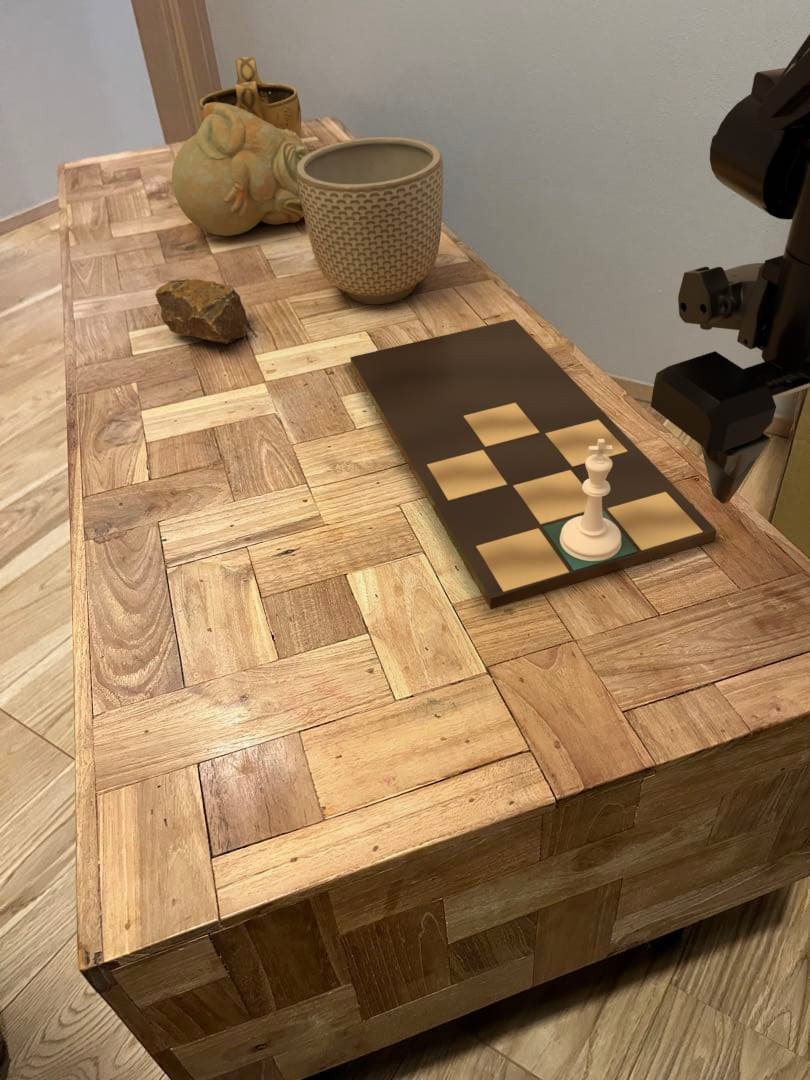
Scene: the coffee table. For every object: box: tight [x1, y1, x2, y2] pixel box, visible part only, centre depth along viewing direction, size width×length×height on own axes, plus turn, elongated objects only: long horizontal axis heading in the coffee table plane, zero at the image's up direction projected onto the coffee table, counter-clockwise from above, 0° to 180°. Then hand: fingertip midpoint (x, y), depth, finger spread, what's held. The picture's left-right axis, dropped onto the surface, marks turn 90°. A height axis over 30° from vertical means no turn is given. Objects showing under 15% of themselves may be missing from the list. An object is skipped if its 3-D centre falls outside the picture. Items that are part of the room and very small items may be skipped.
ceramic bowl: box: [199, 56, 302, 138], centre depth 142 cm, size 22×17×15 cm
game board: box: [349, 318, 718, 609], centre depth 80 cm, size 40×20×1 cm, turn 19°
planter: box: [296, 136, 444, 305], centre depth 101 cm, size 17×17×16 cm
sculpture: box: [171, 102, 311, 237], centre depth 120 cm, size 18×20×20 cm
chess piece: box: [560, 439, 622, 561], centre depth 64 cm, size 5×5×10 cm
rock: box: [154, 279, 247, 345], centre depth 98 cm, size 14×6×10 cm
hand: (775, 478), depth 55 cm, fingers open, 9 cm apart
